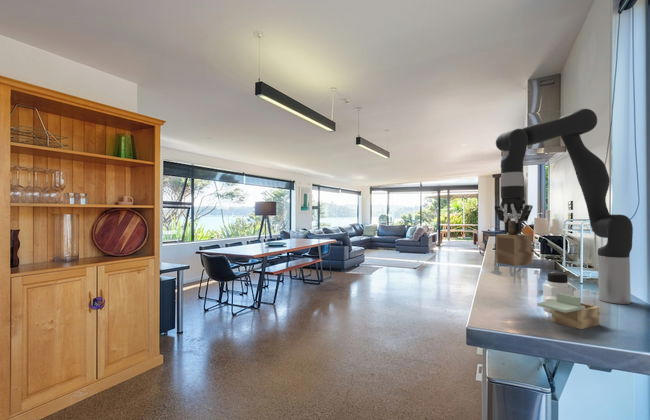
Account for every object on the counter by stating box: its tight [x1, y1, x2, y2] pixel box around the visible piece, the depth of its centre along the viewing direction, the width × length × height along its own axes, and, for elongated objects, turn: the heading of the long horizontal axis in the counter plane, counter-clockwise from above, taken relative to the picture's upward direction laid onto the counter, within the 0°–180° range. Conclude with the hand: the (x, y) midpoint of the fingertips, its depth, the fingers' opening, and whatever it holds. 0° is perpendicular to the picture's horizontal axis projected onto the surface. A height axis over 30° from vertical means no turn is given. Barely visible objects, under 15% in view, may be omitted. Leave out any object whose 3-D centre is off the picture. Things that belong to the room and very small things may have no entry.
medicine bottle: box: [542, 271, 574, 298], centre depth 121 cm, size 7×7×12 cm
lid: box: [536, 293, 585, 313], centre depth 96 cm, size 9×8×3 cm
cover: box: [495, 220, 533, 267], centre depth 117 cm, size 8×8×16 cm
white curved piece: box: [542, 296, 557, 313], centre depth 111 cm, size 4×4×5 cm
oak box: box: [551, 302, 600, 330], centre depth 99 cm, size 9×8×6 cm
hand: (513, 232), depth 117 cm, fingers closed on cover, 3 cm apart
